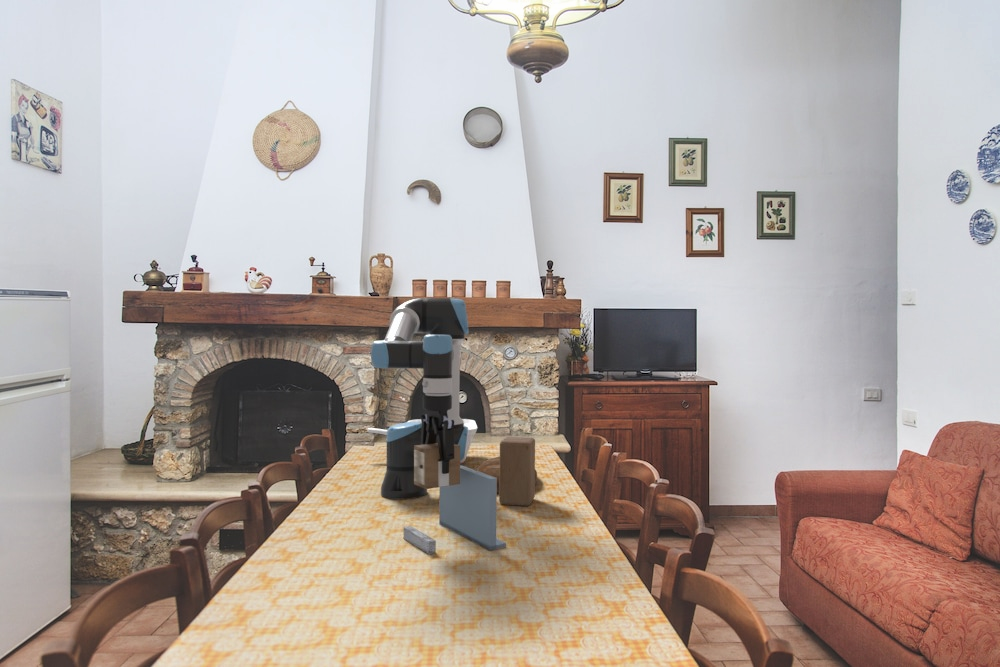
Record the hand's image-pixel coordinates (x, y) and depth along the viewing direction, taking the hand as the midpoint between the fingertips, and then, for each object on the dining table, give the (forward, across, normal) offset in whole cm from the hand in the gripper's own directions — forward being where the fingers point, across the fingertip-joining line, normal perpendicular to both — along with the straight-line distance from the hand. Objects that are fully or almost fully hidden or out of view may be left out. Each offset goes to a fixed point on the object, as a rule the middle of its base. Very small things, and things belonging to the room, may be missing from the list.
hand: (436, 482), depth 173 cm
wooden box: (0, 0, 0) cm, 0 cm away
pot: (+15, -91, +43) cm, 102 cm away
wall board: (+15, 0, +11) cm, 19 cm away
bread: (+16, -44, +52) cm, 70 cm away
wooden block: (+15, -20, +40) cm, 48 cm away
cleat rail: (+15, 0, -5) cm, 16 cm away
